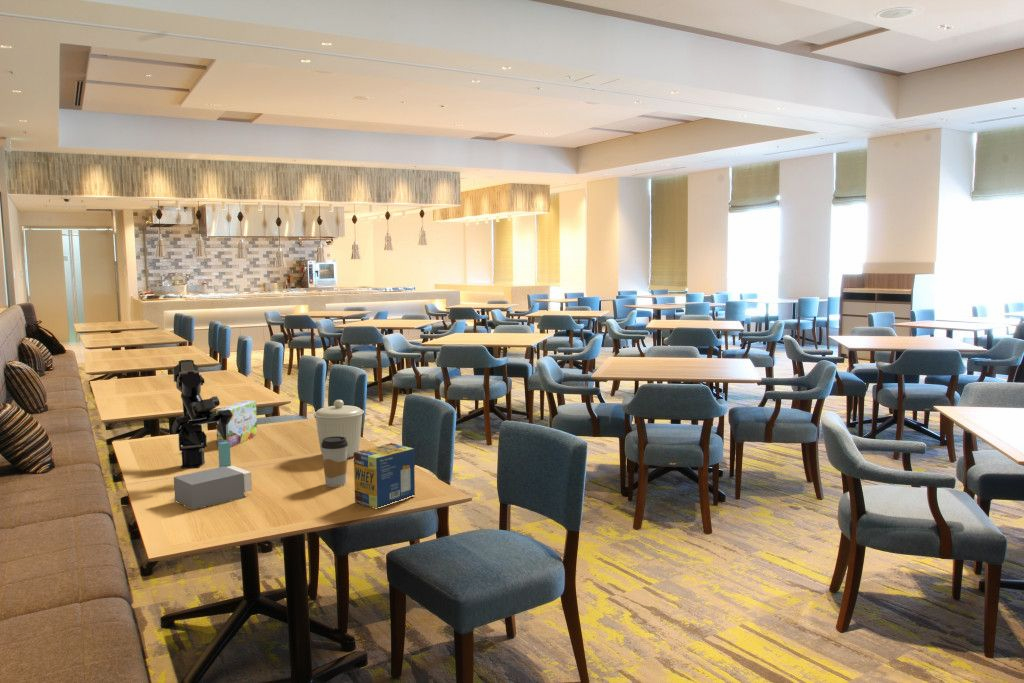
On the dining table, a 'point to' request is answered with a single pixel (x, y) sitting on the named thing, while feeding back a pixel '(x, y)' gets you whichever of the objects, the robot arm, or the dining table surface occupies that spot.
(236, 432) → the snack box
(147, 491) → the dining table surface
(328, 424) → the canister
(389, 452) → the protein box
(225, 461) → the teal white angled piece
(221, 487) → the carton sleeve
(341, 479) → the coffee cup
